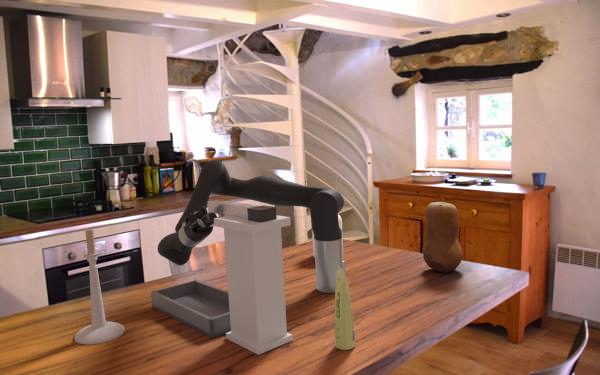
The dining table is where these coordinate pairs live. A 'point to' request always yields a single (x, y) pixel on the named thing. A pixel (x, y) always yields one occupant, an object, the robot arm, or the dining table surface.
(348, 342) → the tube
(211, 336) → the bin
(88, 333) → the candlestick
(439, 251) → the butternut squash
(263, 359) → the dining table surface
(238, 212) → the plug rod
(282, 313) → the stand
